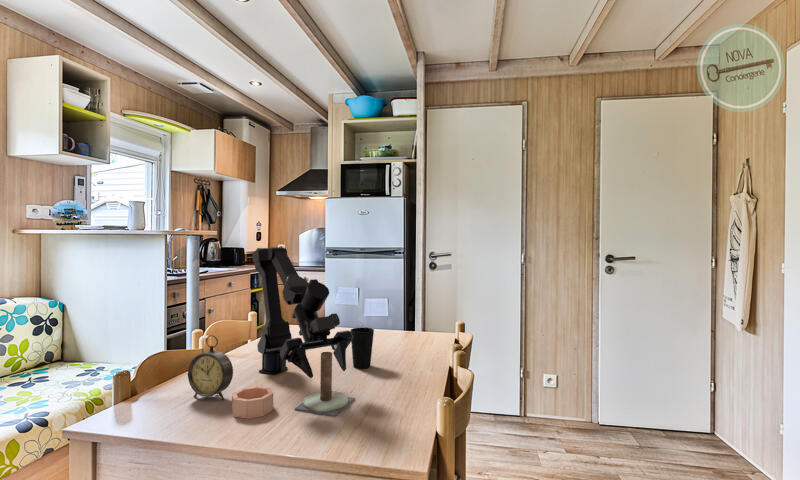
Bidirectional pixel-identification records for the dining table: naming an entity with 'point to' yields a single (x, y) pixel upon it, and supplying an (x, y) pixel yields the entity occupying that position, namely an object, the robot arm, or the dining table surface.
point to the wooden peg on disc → (325, 390)
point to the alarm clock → (210, 372)
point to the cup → (362, 347)
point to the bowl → (252, 402)
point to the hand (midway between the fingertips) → (328, 373)
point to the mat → (331, 413)
